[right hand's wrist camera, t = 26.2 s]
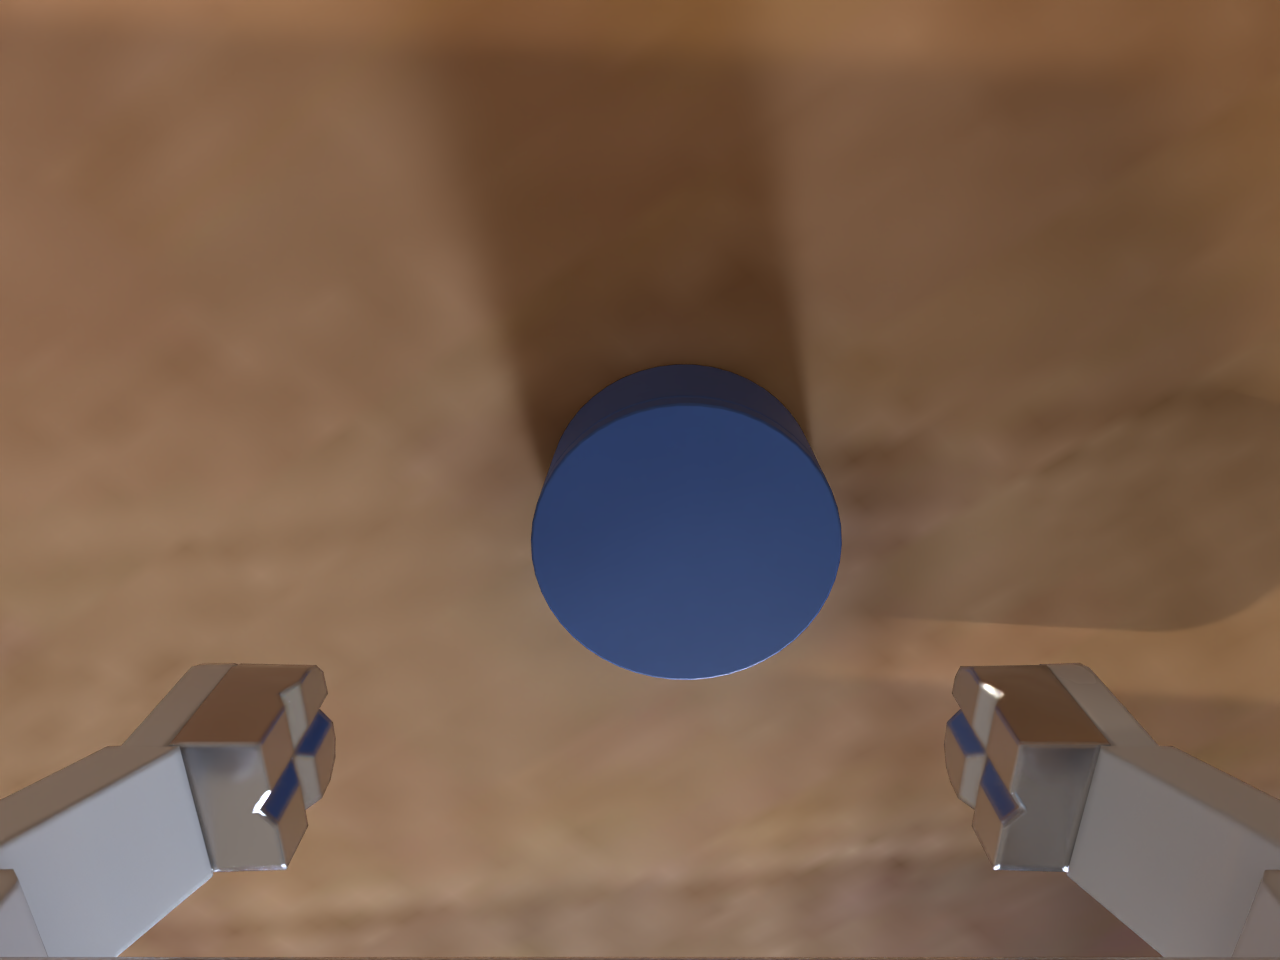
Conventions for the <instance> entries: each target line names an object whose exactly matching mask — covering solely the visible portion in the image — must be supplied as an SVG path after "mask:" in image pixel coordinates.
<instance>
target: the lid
mask: <svg viewBox="0 0 1280 960" xmlns="http://www.w3.org/2000/svg"><path fill="white" fill-rule="evenodd" d="M841 546H842V539H841V523H840V518H839V513H838V507H837V505H836V502H835V499H834V496H833V493H832V490H831V488H830V486H829V484H828V482H827V480H826V478H825V476H824V474H823V472H822V470H821V468H820V466H819V463H818V461H817V459H816V457H815V455H814V453H813V451H812V449H811V447H810V445H809V443H808V441H807V439H806V437H805V435H804V433H803V431H802V430H801V428H800V426H799V424H798V423H797V422H796V420H795V419H794V417H793V416H792V415H791V413H790V412H789V411H788V410H787V409H786V408H785V407H784V406H783V405H782V404H781V403H780V402H779V400H778V399H776V398H775V397H774V396H773V395H771V394H770V393H769V392H767V391H766V390H765V389H764V388H762V387H760V386H759V385H757V384H755V383H753V382H752V381H750V380H748V379H746V378H744V377H741V376H739V375H737V374H734V373H732V372H729V371H725V370H721V369H718V368H714V367H707V366H700V365H669V366H660V367H655V368H651V369H647V370H643V371H639V372H637V373H634V374H632V375H629V376H627V377H624V378H622V379H620V380H618V381H616V382H615V383H613V384H611V385H609V386H607V387H606V388H605V389H603V390H602V391H601V392H599V393H598V394H596V395H595V396H594V397H592V398H591V399H590V400H589V401H588V402H587V403H586V404H585V405H584V406H583V407H582V408H581V409H580V410H579V411H578V413H577V414H576V415H575V417H574V418H573V419H572V420H571V422H570V423H569V425H568V426H567V428H566V430H565V432H564V433H563V435H562V437H561V439H560V441H559V444H558V446H557V449H556V451H555V454H554V457H553V459H552V462H551V465H550V468H549V471H548V474H547V476H546V479H545V482H544V485H543V488H542V491H541V494H540V496H539V499H538V502H537V505H536V510H535V514H534V518H533V522H532V533H531V550H532V561H533V565H534V570H535V575H536V578H537V581H538V584H539V587H540V589H541V592H542V594H543V596H544V598H545V600H546V602H547V604H548V605H549V607H550V609H551V610H552V612H553V613H554V615H555V616H556V618H557V619H558V620H559V622H560V623H561V624H562V625H563V626H564V628H565V629H566V630H567V631H568V632H569V633H570V634H571V635H572V636H573V637H574V638H575V639H576V640H578V641H579V642H580V643H581V644H582V645H584V646H585V647H586V648H587V649H589V650H590V651H592V652H593V653H595V654H596V655H598V656H599V657H601V658H603V659H605V660H607V661H609V662H611V663H613V664H615V665H617V666H619V667H622V668H624V669H627V670H630V671H633V672H636V673H639V674H644V675H648V676H652V677H658V678H666V679H681V680H694V679H705V678H713V677H718V676H723V675H727V674H731V673H734V672H737V671H740V670H744V669H747V668H749V667H751V666H753V665H756V664H758V663H760V662H762V661H764V660H766V659H768V658H769V657H771V656H773V655H774V654H776V653H778V652H779V651H781V650H782V649H783V648H785V647H786V646H787V645H789V644H790V643H791V642H792V641H794V640H795V639H796V638H797V637H798V636H799V635H800V634H801V633H802V632H803V631H804V630H805V629H806V628H807V627H808V626H809V624H810V623H811V622H812V621H813V619H814V618H815V617H816V615H817V614H818V613H819V611H820V610H821V608H822V606H823V604H824V603H825V601H826V599H827V598H828V596H829V593H830V591H831V588H832V586H833V584H834V581H835V578H836V575H837V571H838V567H839V563H840V555H841Z"/></svg>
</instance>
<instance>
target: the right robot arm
mask: <svg viewBox="0 0 1280 960" xmlns="http://www.w3.org/2000/svg"><path fill="white" fill-rule="evenodd" d="M327 694H328V691H327V686H326V682H325V677H324V672H323V671H322V670H321V669H320V668H319V667H318V666H317V665H283V664H239V665H238V664H235V663H212V664H199V665H196V666H193V667H191V668H190V669H189V670H188V671H187V672H186V673H185V674H184V676H183V677H182V678H181V679H180V680H179V681H178V682H177V683H176V685H175V686H174V687H173V688H172V689H171V690H170V691H169V692H168V694H167V695H166V696H165V697H164V698H163V699H162V700H161V701H160V703H159V704H158V705H157V706H156V707H155V708H154V709H153V710H152V712H151V713H150V714H149V715H148V716H147V717H146V718H145V719H144V721H143V722H142V723H141V724H140V725H139V726H138V727H137V728H136V730H135V731H134V732H133V733H132V734H131V735H130V736H129V737H128V739H127V740H126V741H125V742H124V743H123V744H122V745H121V746H107V747H105V748H103V749H101V750H99V751H97V752H95V753H93V754H91V755H89V756H87V757H85V758H83V759H81V760H79V761H77V762H75V763H73V764H71V765H69V766H67V767H65V768H63V769H61V770H59V771H57V772H55V773H53V774H51V775H49V776H47V777H45V778H43V779H41V780H39V781H37V782H35V783H33V784H31V785H29V786H27V787H25V788H23V789H21V790H19V791H17V792H15V793H13V794H11V795H9V796H7V797H5V798H3V799H1V800H0V960H1280V800H1278V799H1276V798H1274V797H1272V796H1270V795H1268V794H1266V793H1264V792H1262V791H1260V790H1258V789H1256V788H1254V787H1252V786H1250V785H1248V784H1247V783H1245V782H1243V781H1241V780H1239V779H1237V778H1235V777H1233V776H1231V775H1229V774H1227V773H1225V772H1223V771H1221V770H1219V769H1217V768H1215V767H1213V766H1211V765H1209V764H1207V763H1205V762H1203V761H1201V760H1199V759H1197V758H1195V757H1193V756H1191V755H1189V754H1187V753H1185V752H1183V751H1181V750H1179V749H1177V748H1175V747H1173V746H1159V745H1158V744H1157V743H1156V742H1155V741H1154V740H1153V739H1152V737H1151V736H1150V735H1149V734H1148V733H1147V732H1146V731H1145V730H1144V728H1143V727H1142V726H1141V725H1140V724H1139V723H1138V722H1137V721H1136V719H1135V718H1134V717H1133V716H1132V715H1131V714H1130V713H1129V712H1128V710H1127V709H1126V708H1125V707H1124V706H1123V705H1122V704H1121V703H1120V701H1119V700H1118V699H1117V698H1116V697H1115V696H1114V695H1113V694H1112V692H1111V691H1110V690H1109V689H1108V688H1107V687H1106V686H1105V685H1104V683H1103V682H1102V681H1101V680H1100V679H1099V678H1098V677H1097V676H1096V674H1095V673H1094V672H1093V671H1092V670H1091V669H1090V668H1089V667H1087V666H1085V665H1083V664H1081V663H1061V664H1040V665H1010V666H960V668H959V670H958V672H957V674H956V676H955V680H954V685H953V691H952V694H953V696H954V698H955V700H956V701H957V703H958V705H959V707H960V708H961V709H960V710H959V711H958V712H957V713H956V714H955V715H954V716H953V717H952V718H951V719H950V720H949V721H948V722H947V726H946V733H945V741H944V750H945V761H946V768H947V772H948V775H949V779H950V782H951V784H952V786H953V789H954V791H955V793H956V795H957V797H958V798H959V799H960V800H962V801H963V802H964V803H966V804H967V805H969V806H970V807H971V808H973V809H974V810H975V811H974V816H973V822H972V827H973V829H974V831H975V833H976V835H977V837H978V839H979V841H980V843H981V845H982V847H983V849H984V851H985V853H986V855H987V857H988V859H989V861H990V863H991V865H992V867H993V869H994V870H1018V871H1054V872H1067V876H1068V877H1069V878H1071V879H1072V880H1073V881H1074V882H1075V883H1077V884H1078V885H1079V886H1080V887H1081V888H1082V889H1084V890H1085V891H1086V892H1087V893H1088V894H1090V895H1091V896H1092V897H1093V898H1094V899H1096V900H1097V901H1098V902H1099V903H1100V904H1101V905H1103V906H1104V907H1105V908H1106V909H1107V910H1109V911H1110V912H1111V913H1112V914H1113V915H1114V916H1116V917H1117V918H1118V919H1119V920H1120V921H1122V922H1123V923H1124V924H1125V925H1126V926H1128V927H1129V928H1130V929H1131V930H1132V931H1133V932H1135V933H1136V934H1137V935H1138V936H1139V937H1141V938H1142V939H1143V940H1144V941H1145V942H1147V943H1148V944H1149V945H1150V946H1151V947H1152V948H1154V949H1155V950H1156V951H1157V952H1158V953H1160V954H1161V955H1162V956H1163V957H117V956H118V955H119V954H121V953H122V952H123V951H124V950H125V949H127V948H128V947H129V946H130V945H131V944H132V943H134V942H135V941H136V940H137V939H138V938H140V937H141V936H142V935H143V934H144V933H146V932H147V931H148V930H149V929H150V928H152V927H153V926H154V925H155V924H156V923H157V922H159V921H160V920H161V919H162V918H163V917H165V916H166V915H167V914H168V913H169V912H171V911H172V910H173V909H174V908H175V907H176V906H178V905H179V904H180V903H181V902H182V901H184V900H185V899H186V898H187V897H188V896H190V895H191V894H192V893H193V892H194V891H196V890H197V889H198V888H199V887H200V886H201V885H203V884H204V883H205V882H206V881H207V880H209V879H210V878H211V877H212V876H213V873H212V872H226V871H260V870H286V869H287V867H288V865H289V863H290V861H291V859H292V857H293V855H294V853H295V851H296V849H297V847H298V845H299V843H300V841H301V839H302V837H303V835H304V833H305V831H306V829H307V827H308V822H307V816H306V811H305V810H306V809H307V808H309V807H310V806H311V805H313V804H314V803H316V802H317V801H318V800H320V799H321V798H322V797H323V795H324V793H325V791H326V788H327V786H328V784H329V782H330V780H331V775H332V770H333V766H334V761H335V744H336V738H335V732H334V726H333V722H332V721H331V720H330V719H329V718H328V717H327V716H326V715H325V714H324V713H323V712H322V711H321V710H320V709H319V708H320V707H321V705H322V703H323V701H324V699H325V698H326V696H327Z"/></svg>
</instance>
